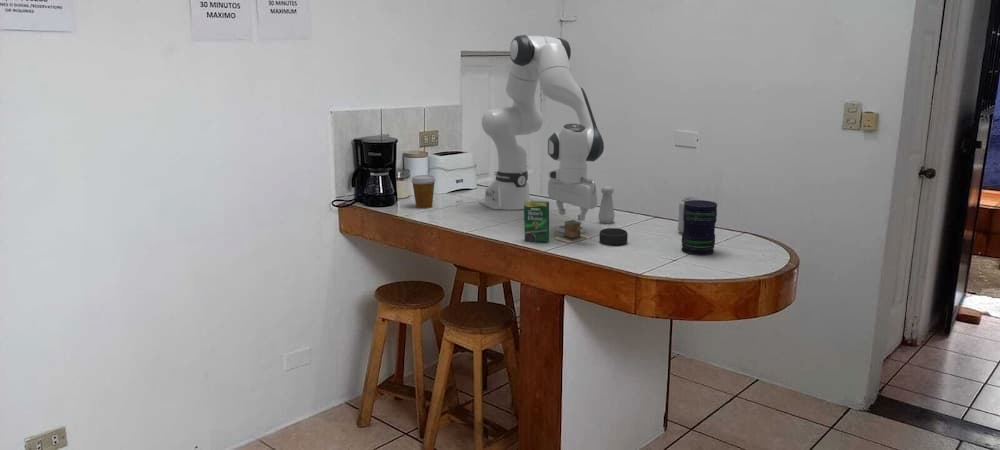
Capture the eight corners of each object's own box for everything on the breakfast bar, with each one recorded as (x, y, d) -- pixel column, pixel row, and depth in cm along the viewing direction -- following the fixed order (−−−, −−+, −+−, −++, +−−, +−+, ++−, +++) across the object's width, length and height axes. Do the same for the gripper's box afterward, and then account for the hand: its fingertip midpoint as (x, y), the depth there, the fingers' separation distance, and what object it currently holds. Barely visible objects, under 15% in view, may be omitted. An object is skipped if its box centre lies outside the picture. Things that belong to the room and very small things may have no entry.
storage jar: (694, 257, 212) (697, 207, 208) (674, 249, 220) (676, 201, 217) (721, 253, 216) (724, 205, 212) (700, 245, 224) (703, 199, 221)
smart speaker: (621, 248, 222) (622, 235, 222) (595, 244, 227) (595, 232, 226) (631, 241, 230) (631, 229, 229) (605, 238, 234) (605, 226, 233)
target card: (554, 238, 233) (554, 237, 233) (576, 234, 239) (576, 232, 239) (568, 243, 228) (568, 241, 227) (591, 238, 233) (591, 236, 233)
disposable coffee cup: (423, 203, 289) (422, 174, 286) (441, 206, 283) (440, 176, 280) (407, 207, 281) (406, 177, 278) (425, 210, 276) (424, 179, 273)
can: (685, 229, 245) (687, 195, 242) (704, 233, 240) (707, 198, 237) (673, 233, 240) (675, 198, 237) (693, 237, 235) (695, 201, 232)
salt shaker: (614, 224, 252) (615, 188, 249) (597, 223, 253) (598, 187, 250) (614, 220, 257) (616, 185, 254) (598, 220, 258) (599, 184, 255)
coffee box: (523, 240, 231) (523, 201, 227) (526, 238, 233) (526, 199, 230) (546, 243, 227) (547, 203, 224) (549, 241, 230) (550, 201, 227)
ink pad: (556, 230, 244) (556, 226, 243) (570, 227, 247) (570, 223, 247) (571, 234, 238) (571, 230, 237) (585, 232, 241) (585, 227, 241)
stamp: (572, 235, 236) (573, 219, 235) (581, 237, 233) (581, 221, 231) (563, 237, 234) (564, 221, 232) (572, 239, 230) (572, 223, 229)
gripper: (602, 179, 222) (600, 222, 226) (559, 169, 238) (558, 209, 242) (588, 181, 219) (586, 225, 222) (545, 171, 234) (544, 212, 238)
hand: (571, 217), depth 232 cm, fingers open, 8 cm apart
